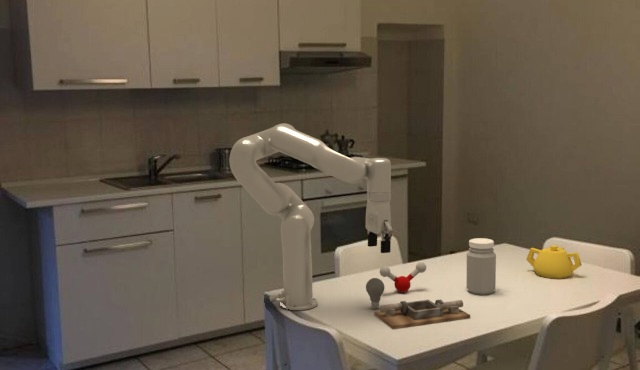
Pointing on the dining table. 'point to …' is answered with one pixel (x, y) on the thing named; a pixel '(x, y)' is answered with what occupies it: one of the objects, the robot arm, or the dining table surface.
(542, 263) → the yellow sugar bowl
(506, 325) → the dining table surface
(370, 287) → the light bulb
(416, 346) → the dining table surface
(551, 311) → the dining table surface
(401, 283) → the molecular model
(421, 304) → the shaft bench
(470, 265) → the jar
